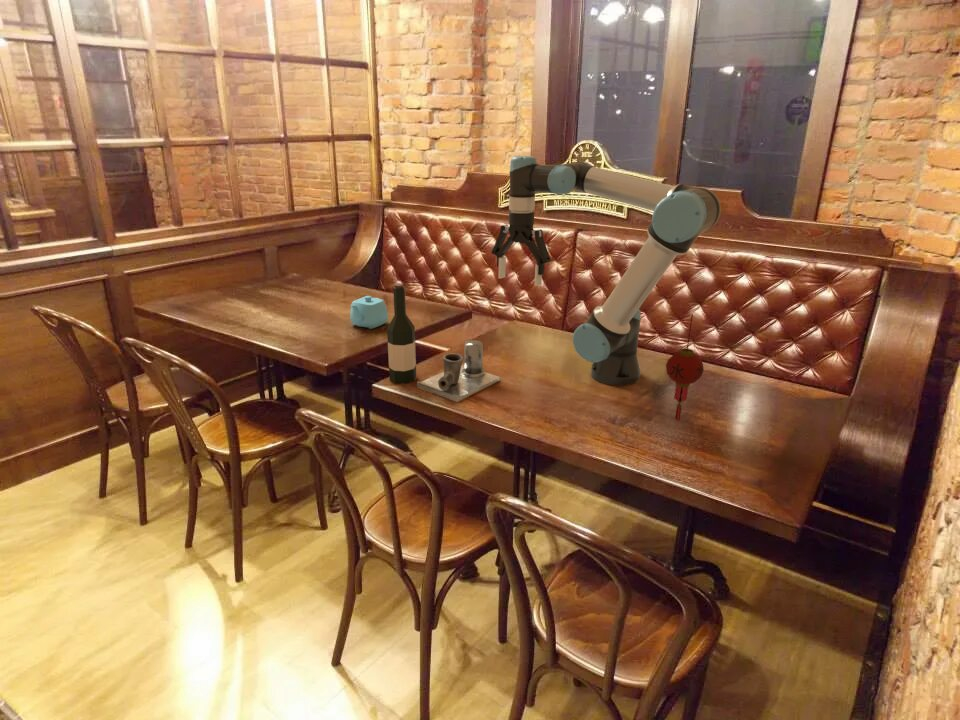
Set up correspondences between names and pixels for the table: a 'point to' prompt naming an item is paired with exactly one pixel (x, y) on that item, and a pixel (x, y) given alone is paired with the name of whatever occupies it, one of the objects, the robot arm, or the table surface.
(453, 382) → the pipe
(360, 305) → the teapot
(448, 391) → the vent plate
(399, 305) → the wine bottle
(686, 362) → the lantern
